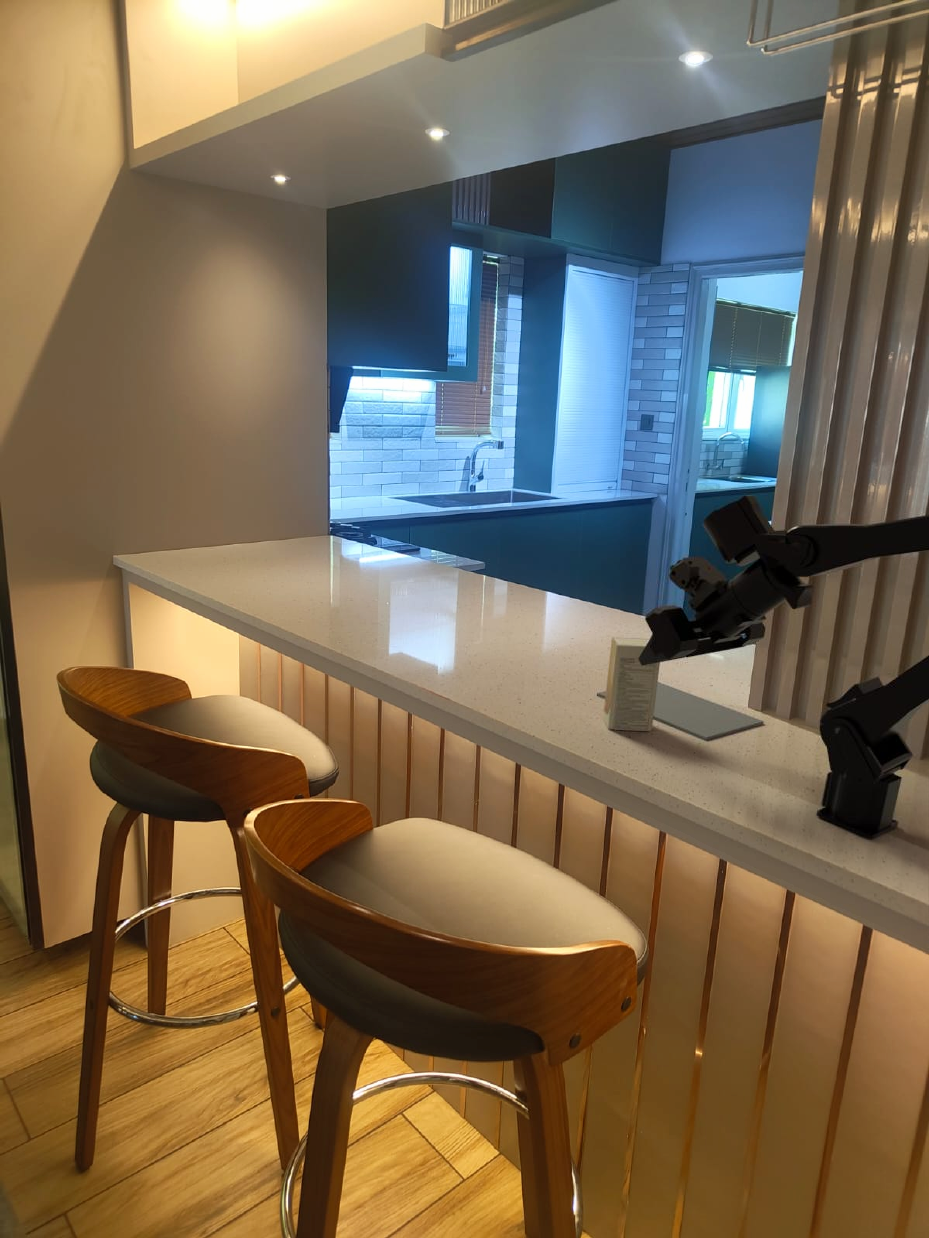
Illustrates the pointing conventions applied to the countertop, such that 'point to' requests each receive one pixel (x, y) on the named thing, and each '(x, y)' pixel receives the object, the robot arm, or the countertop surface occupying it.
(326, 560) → the countertop surface
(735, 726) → the slate mat
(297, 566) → the countertop surface
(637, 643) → the skincare box
